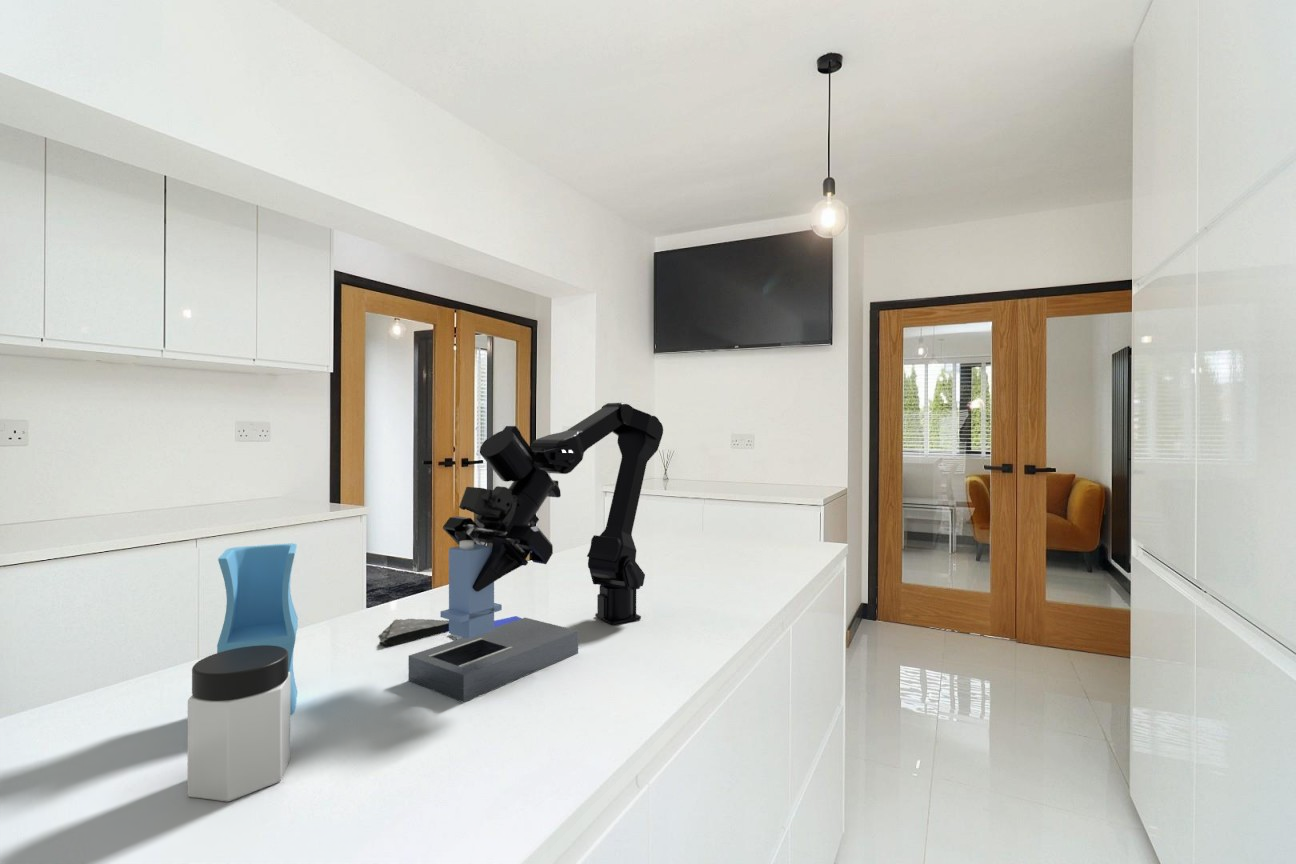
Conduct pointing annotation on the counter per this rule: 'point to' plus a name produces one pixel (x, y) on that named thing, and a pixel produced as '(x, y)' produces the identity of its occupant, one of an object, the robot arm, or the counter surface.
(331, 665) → the counter surface
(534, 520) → the robot arm
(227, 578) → the vase
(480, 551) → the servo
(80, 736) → the counter surface
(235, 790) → the jar
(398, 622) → the stone
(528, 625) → the plate
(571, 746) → the counter surface
